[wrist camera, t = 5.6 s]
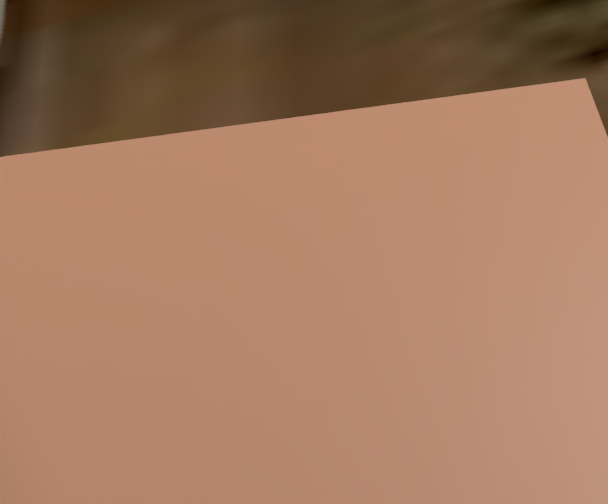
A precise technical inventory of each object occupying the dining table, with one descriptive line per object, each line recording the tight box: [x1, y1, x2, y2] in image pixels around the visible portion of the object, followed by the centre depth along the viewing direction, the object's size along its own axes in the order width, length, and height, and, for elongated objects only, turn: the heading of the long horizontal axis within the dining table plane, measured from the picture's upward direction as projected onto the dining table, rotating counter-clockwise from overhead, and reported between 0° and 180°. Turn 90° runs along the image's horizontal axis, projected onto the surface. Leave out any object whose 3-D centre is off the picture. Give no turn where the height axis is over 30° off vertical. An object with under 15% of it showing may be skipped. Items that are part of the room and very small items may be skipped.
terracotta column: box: [0, 78, 608, 504], centre depth 9 cm, size 4×4×13 cm
